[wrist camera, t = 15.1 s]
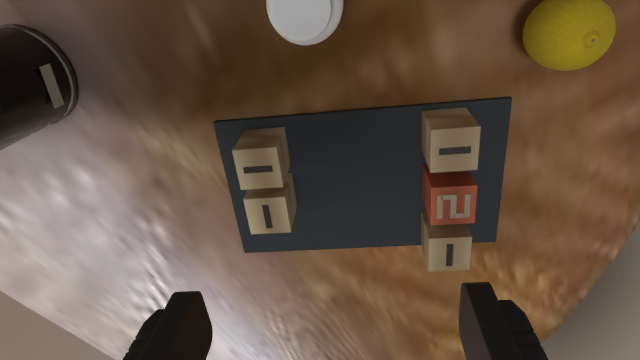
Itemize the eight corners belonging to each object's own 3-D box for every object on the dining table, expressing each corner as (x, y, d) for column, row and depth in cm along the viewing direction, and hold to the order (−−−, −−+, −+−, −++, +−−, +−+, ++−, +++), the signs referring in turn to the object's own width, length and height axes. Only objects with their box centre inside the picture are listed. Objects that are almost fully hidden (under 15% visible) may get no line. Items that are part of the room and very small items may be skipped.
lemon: (571, -26, 32) (633, -22, 25) (584, 40, 34) (645, 60, 27) (500, 8, 34) (540, 20, 27) (518, 69, 36) (559, 95, 29)
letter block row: (420, 241, 45) (428, 272, 40) (421, 110, 38) (431, 130, 33) (457, 239, 44) (469, 270, 40) (466, 107, 37) (481, 126, 33)
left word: (260, 207, 44) (250, 235, 40) (244, 129, 40) (231, 150, 35) (297, 205, 44) (291, 233, 39) (284, 126, 39) (276, 147, 35)
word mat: (245, 250, 47) (244, 252, 47) (214, 120, 40) (213, 122, 40) (494, 239, 44) (495, 241, 44) (510, 96, 37) (512, 97, 37)
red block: (422, 198, 42) (430, 226, 38) (422, 163, 40) (431, 188, 36) (461, 195, 42) (475, 224, 37) (463, 160, 40) (478, 185, 35)
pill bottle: (357, 7, 34) (359, 22, 26) (305, 44, 36) (291, 69, 27) (321, -54, 32) (310, -59, 24) (268, -12, 34) (240, -3, 26)
